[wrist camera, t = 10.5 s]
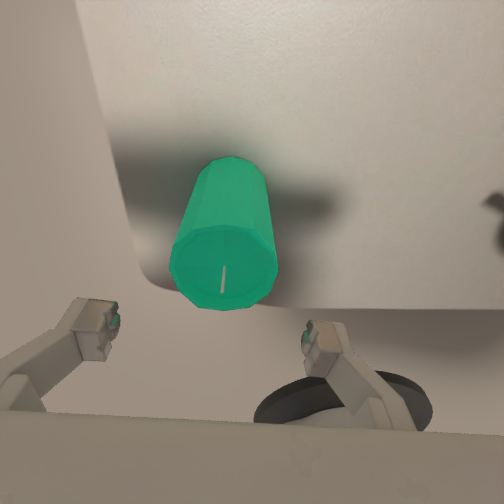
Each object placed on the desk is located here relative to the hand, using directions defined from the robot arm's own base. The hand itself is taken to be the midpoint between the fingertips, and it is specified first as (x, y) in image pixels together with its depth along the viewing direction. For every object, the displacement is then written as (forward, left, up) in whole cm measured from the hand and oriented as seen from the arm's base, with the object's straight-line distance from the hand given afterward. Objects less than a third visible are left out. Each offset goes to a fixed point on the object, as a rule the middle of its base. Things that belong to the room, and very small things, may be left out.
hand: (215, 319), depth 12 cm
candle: (0, 0, -14) cm, 14 cm away
